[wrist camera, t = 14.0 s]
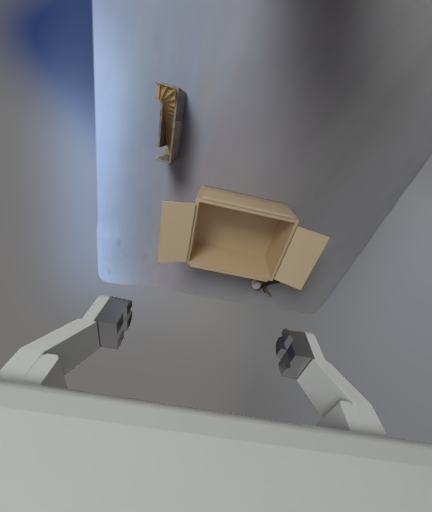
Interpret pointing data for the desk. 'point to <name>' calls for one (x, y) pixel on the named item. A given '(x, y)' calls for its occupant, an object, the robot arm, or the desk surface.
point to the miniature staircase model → (170, 120)
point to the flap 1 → (175, 231)
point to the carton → (239, 234)
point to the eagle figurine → (263, 284)
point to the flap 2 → (301, 257)
